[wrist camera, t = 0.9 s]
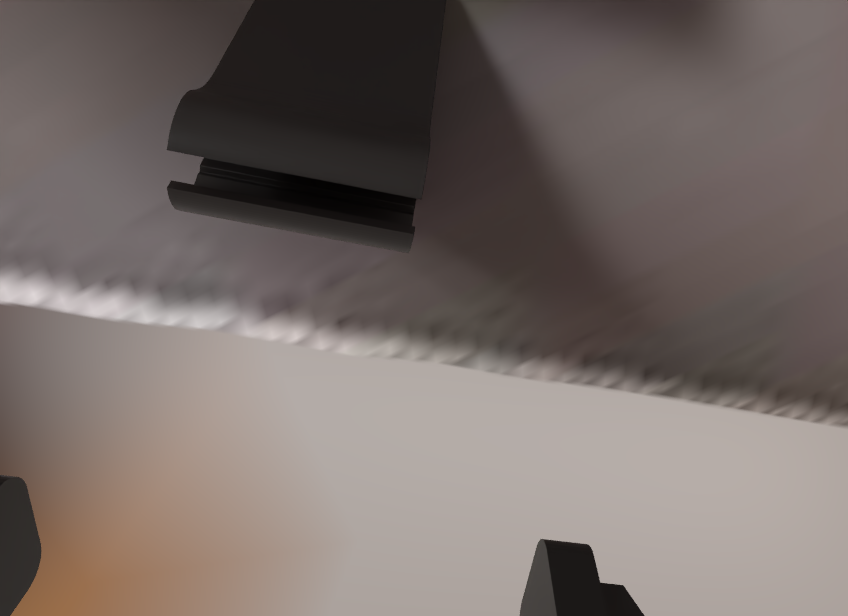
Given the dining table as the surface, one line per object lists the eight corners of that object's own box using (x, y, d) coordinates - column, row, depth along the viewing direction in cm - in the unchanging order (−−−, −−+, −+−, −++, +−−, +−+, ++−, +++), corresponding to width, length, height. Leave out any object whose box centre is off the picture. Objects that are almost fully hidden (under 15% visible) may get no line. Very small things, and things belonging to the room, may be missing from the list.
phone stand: (286, -54, 23) (166, -50, 13) (449, -16, 24) (461, 18, 13) (266, 182, 28) (164, 328, 17) (403, 209, 28) (386, 367, 18)
